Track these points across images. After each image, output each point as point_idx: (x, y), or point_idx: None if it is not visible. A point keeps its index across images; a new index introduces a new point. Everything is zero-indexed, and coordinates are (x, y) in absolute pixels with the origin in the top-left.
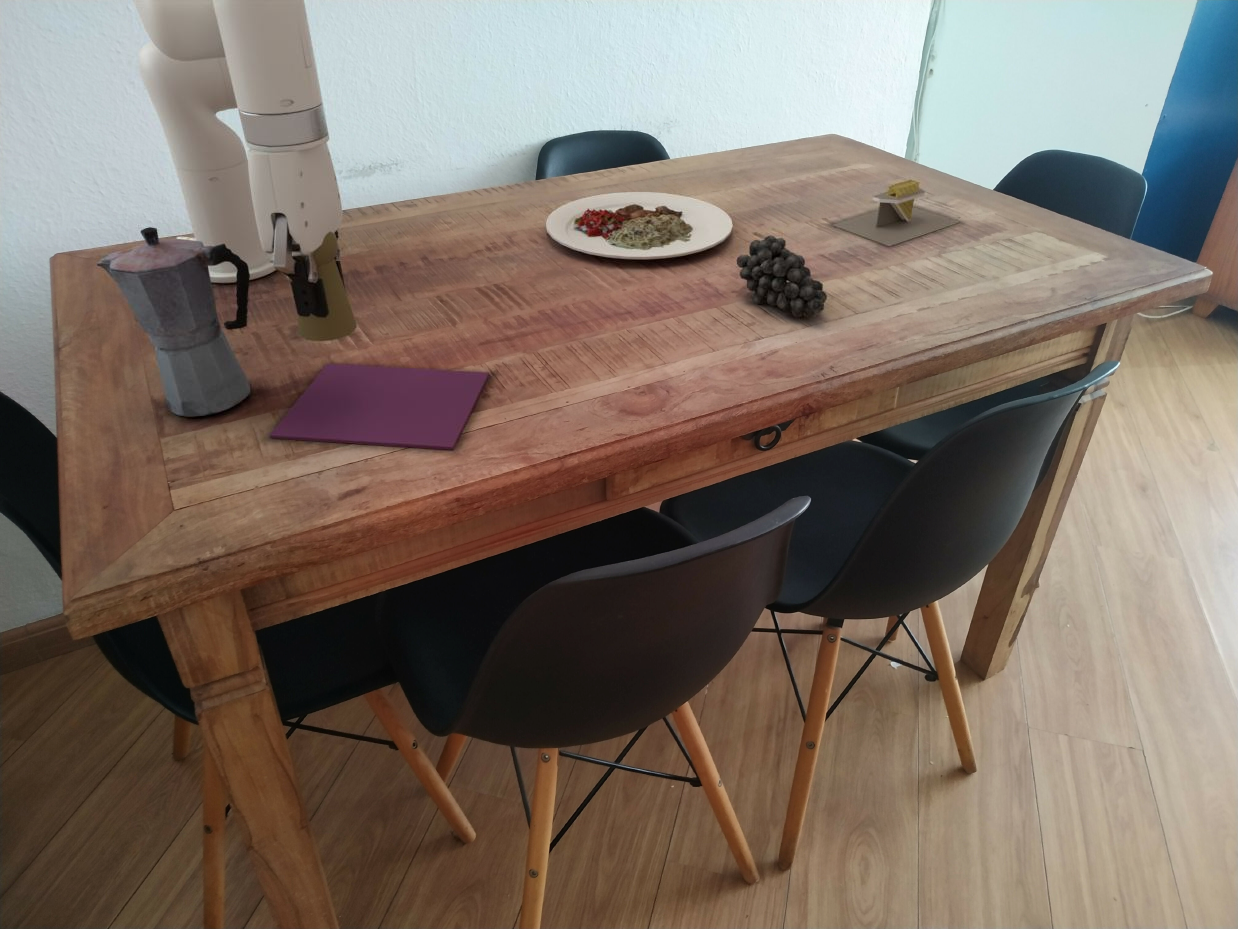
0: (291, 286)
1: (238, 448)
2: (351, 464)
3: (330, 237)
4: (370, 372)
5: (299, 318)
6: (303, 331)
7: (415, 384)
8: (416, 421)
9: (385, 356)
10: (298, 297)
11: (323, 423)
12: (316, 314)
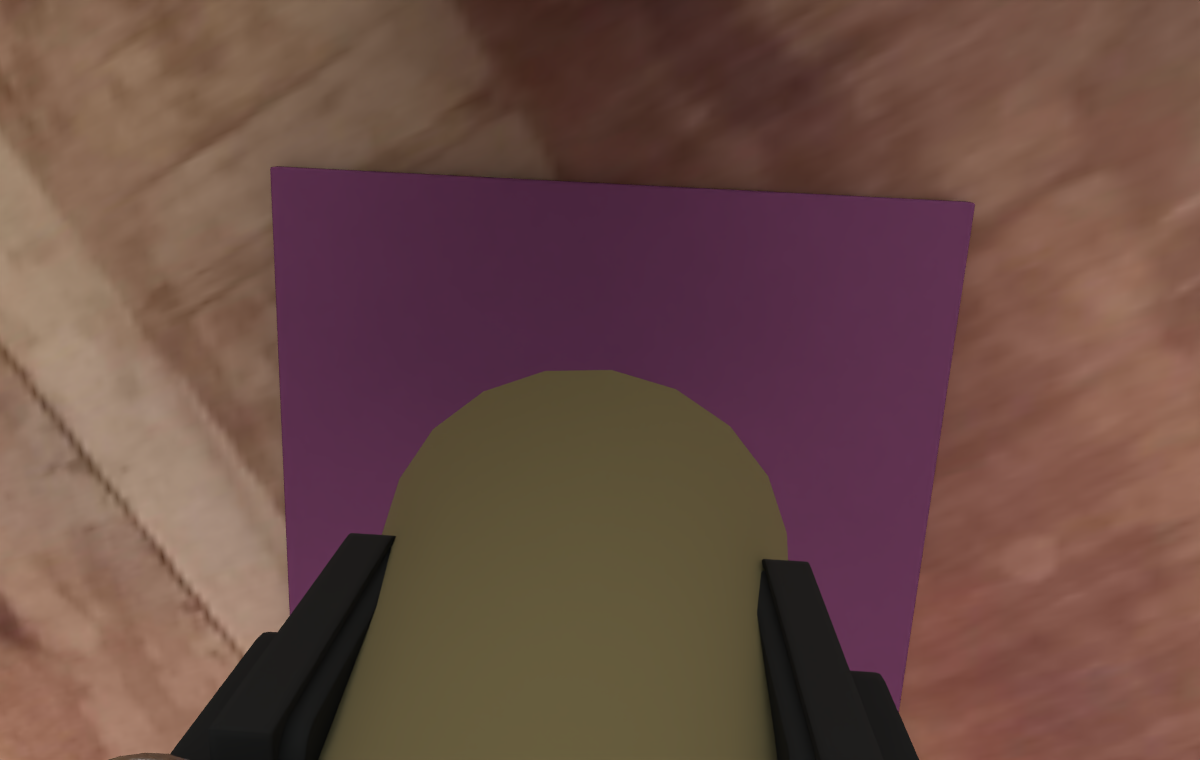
0: (249, 676)
1: (177, 49)
2: (156, 561)
3: None
4: (870, 451)
5: (419, 488)
6: (407, 477)
7: None
8: None
9: (1068, 461)
10: (214, 701)
11: (394, 378)
12: None
